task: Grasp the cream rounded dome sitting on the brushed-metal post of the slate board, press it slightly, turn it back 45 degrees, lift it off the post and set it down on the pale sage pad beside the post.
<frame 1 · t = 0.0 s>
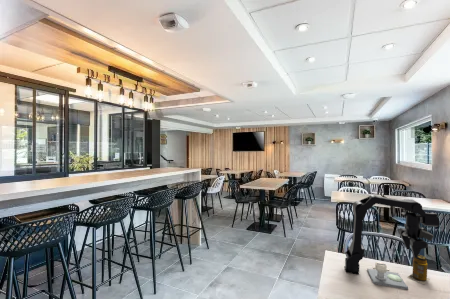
hand: (411, 253, 124), 15 cm above the table, fingers open, 9 cm apart
condiment: (418, 278, 126), on the table
post board: (386, 279, 125), on the table
cream rounded dome: (380, 269, 124), point 5 cm above the table, touching post board
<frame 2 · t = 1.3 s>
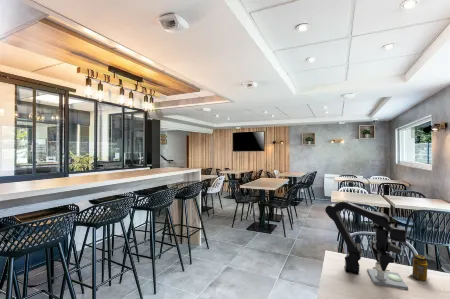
hand: (380, 266, 124), 7 cm above the table, fingers open, 9 cm apart
nothing on the table moved.
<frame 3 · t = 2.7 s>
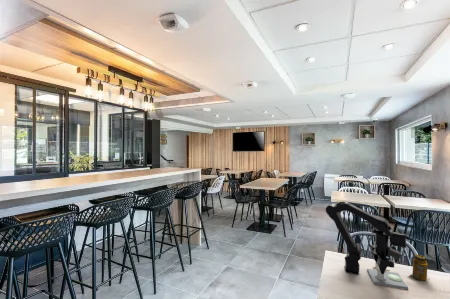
hand: (380, 271, 124), 5 cm above the table, fingers closed on cream rounded dome, 5 cm apart
cream rounded dome: (380, 269, 124), point 5 cm above the table, touching gripper, post board
everything else where it was.
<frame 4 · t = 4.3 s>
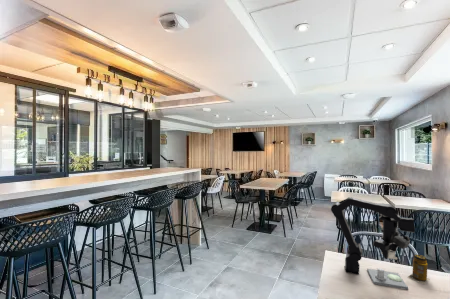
hand: (389, 257, 124), 12 cm above the table, fingers closed on cream rounded dome, 5 cm apart
cream rounded dome: (389, 256, 124), point 13 cm above the table, touching gripper
everything else where it was.
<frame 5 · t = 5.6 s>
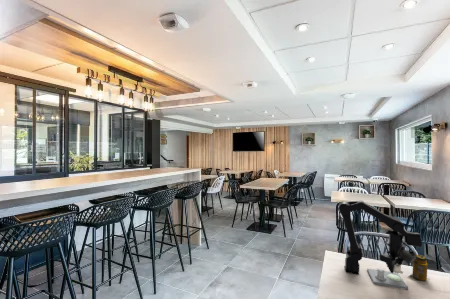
hand: (394, 271, 124), 5 cm above the table, fingers closed on cream rounded dome, 5 cm apart
cream rounded dome: (394, 270, 124), point 5 cm above the table, touching gripper
everything else where it was.
when the fingers open (2 cm above the table, at t = 6.4 s): cream rounded dome drops 2 cm, resting on post board.
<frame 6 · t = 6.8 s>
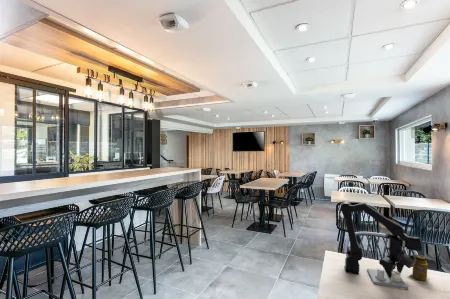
hand: (394, 275, 124), 2 cm above the table, fingers open, 9 cm apart
cream rounded dome: (394, 277, 124), point 1 cm above the table, touching post board
everything else where it was.
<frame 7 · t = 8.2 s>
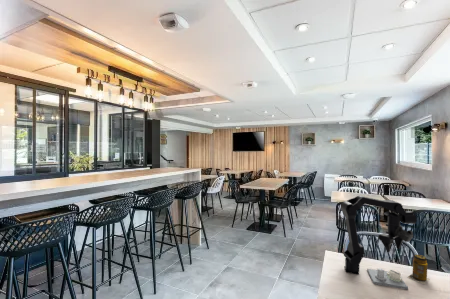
hand: (393, 250, 132), 12 cm above the table, fingers open, 9 cm apart
nothing on the table moved.
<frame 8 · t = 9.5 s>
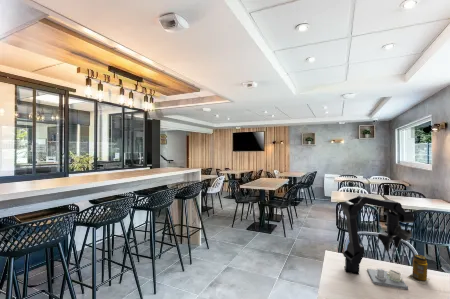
hand: (392, 249, 134), 12 cm above the table, fingers open, 9 cm apart
nothing on the table moved.
at the end: cream rounded dome 0.1 cm from the target spot, point 1.4 cm above the table; cream rounded dome tilted 0°; the gripper is holding nothing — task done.
